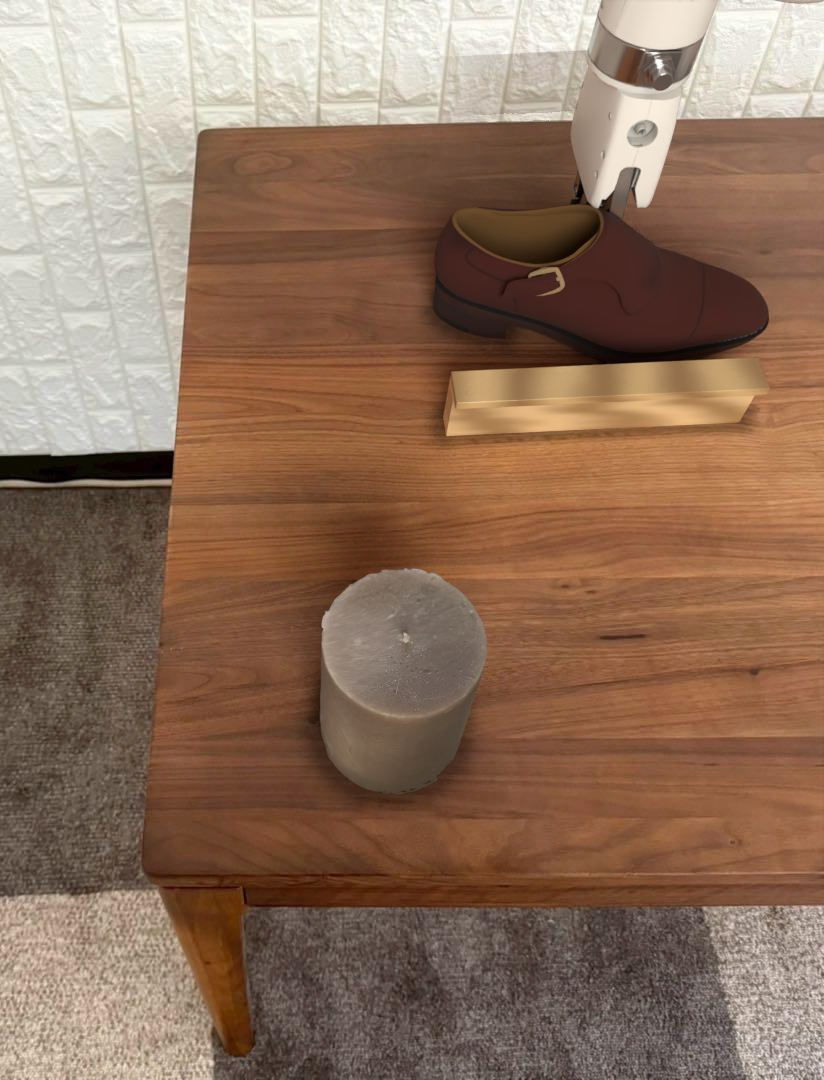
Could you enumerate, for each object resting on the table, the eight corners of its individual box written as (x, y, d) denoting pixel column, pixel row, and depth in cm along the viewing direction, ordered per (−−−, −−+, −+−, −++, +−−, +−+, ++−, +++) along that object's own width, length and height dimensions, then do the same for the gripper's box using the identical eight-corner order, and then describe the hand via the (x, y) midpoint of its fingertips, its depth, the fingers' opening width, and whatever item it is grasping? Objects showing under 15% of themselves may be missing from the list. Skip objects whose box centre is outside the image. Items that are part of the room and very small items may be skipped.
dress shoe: (758, 382, 85) (815, 300, 74) (423, 346, 88) (431, 263, 77) (758, 290, 88) (813, 199, 77) (435, 260, 92) (445, 168, 81)
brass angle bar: (732, 403, 84) (758, 356, 79) (743, 434, 82) (770, 388, 77) (442, 417, 84) (451, 371, 79) (447, 448, 82) (456, 403, 77)
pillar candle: (452, 806, 67) (486, 724, 54) (307, 781, 68) (306, 694, 55) (466, 672, 72) (499, 568, 59) (330, 651, 73) (334, 543, 60)
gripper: (723, 109, 68) (641, 304, 84) (672, -18, 76) (606, 183, 92) (613, 111, 68) (551, 306, 84) (573, -16, 76) (523, 185, 92)
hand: (580, 241), depth 88 cm, fingers closed
